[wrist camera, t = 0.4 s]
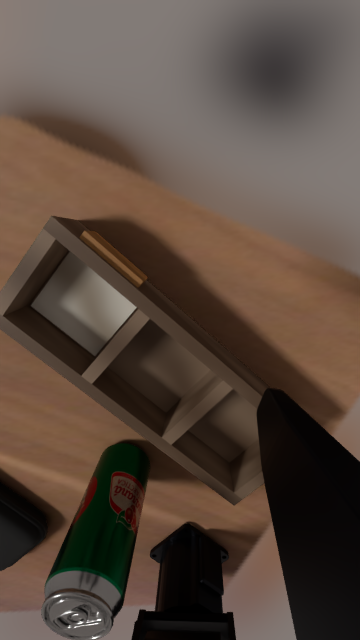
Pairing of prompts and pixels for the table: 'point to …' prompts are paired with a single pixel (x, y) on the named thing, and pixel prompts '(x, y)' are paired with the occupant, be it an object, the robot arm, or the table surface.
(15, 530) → the carrying case or bag
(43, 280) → the can rack
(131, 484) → the soda can
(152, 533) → the table surface
